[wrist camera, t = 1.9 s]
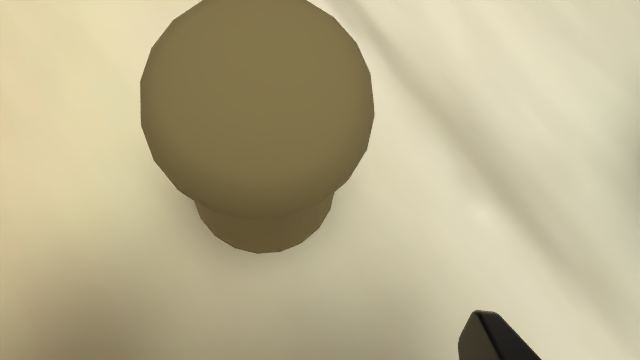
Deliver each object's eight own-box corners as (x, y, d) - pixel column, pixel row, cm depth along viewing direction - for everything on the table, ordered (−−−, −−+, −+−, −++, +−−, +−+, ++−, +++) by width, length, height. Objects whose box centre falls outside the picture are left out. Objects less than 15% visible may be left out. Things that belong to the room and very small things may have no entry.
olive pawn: (206, 269, 19) (123, 269, 8) (179, 128, 20) (71, -40, 9) (350, 234, 20) (447, 194, 9) (317, 101, 21) (369, -81, 10)
